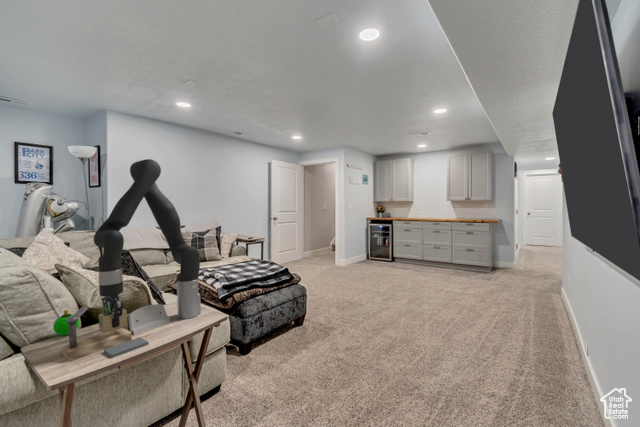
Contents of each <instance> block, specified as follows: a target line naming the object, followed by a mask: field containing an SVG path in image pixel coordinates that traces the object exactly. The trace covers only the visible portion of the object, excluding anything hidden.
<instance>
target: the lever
mask: <svg viewBox="0 0 640 427" xmlns="http://www.w3.org/2000/svg"><path fill="white" fill-rule="evenodd" d="M87 310H89V305H83V306H82V307H80V309H78V310H77V311H76V312H74V314H72V315H73V316H71V317H68V318H66V320H67V324H70V323H75V322H77V321H78V320H79V318H80V317H81V316H83V314H84V313H86V311H87Z"/></svg>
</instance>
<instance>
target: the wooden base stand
mask: <svg viewBox="0 0 640 427" xmlns="http://www.w3.org/2000/svg"><path fill="white" fill-rule="evenodd" d="M132 337H133V336H132V332H130V331H128V330H127V328H124V327H120V328H117V329H114V330H111V331H108V332H105V333H101V334H98V335H95V336H91V337H88V338H85V339H82V340H78V341H77V338H78V337H77V329H76V322H75V323H70V324H69V335H68V341H69V342H68V344H64V345H62V355H63V356H64V358H66V359H67V360H68V361H69V362H72V361H74V360H77V359H81V358H83V357H86V356H89V355H92V354H95V353H98V352H100V351H101V352H102V351H104V349H107V348H110V347H113V346H115V345H119V344H122V343H125V342H127V341H130V340H133V339H132Z"/></svg>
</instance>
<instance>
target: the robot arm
mask: <svg viewBox="0 0 640 427" xmlns="http://www.w3.org/2000/svg"><path fill="white" fill-rule="evenodd" d="M129 172H130V176H131V178H132V180H133V183H132V184H131V186H130V187H129V188H128V190H127V191H125V193H124V194H123V195H122V196H121V197H120V198H119V199H118V201H117V202H116V204H115V205H114V207H113V208H112V211H111V213H110V214H109V216H108V218H107V219H105V221H103V223H102V224H101V225H100V226H99V227H98V228H97V230H96V231H95V233H94V236H93V242H94V245H95V246H96V247H98V248H103V252H102V253H103V254H102V255H100V256H99V257H98V290H99V291H98V292H99V296H100V297H101V302H102V309H103V313H107V312H110V313H111V316H112V327H113V328H116V327H119V326H120V322H119V316H122V311H123V309H124V302H123V301H121V298H120V297H119V295H120V294H122V293H123V292H124V277H123V270H122V253H123V251H124V250H123V249H124V245H125V243H124V242H125V239H124V235H123V234H122V232H120V231H121V229H123V228H125V227H128V225H129V224H130V221H131V220H132V218H133V217H134V215H135V213H136V211H137V209H138V207H139V205H140V204H141V202H142V201H143V199H145V201H146V204H147V205H148V207H149V209H150V211H151V213H152V215H153V218H154V220H155V221H156V224H157V225H158V227H159V229H160V231H161V233H162V235H163V237H164V238H165V240H166V242H167V245H168V247H169V250H170V253H171V255H172V258H173V260H174V262H175V263H177V264H178V265H180V272H179V273H177V274H176V297H177V298H176V300H177V304H176V305H177V318H178V319H183V320H184V319H192V318H196V317H197V316H198V315H201V313H202V310H201V308H202V306H201V294H200V293H199V274H200V268H201V267H200V266H201V264H200V263H201V255H200V251H199V250H198V248H196V247H195V246H191V245H188V244H187V242H186V241H185V238H184V235H183V234H182V229H181V226H182V225H181V219H180V215H179V213H178V211H177V210H176V207H175V206H174V204H173V203H172V202H171V201H170V200H169V199H168V197H167V196H165V195H164V194H163V192H162V191H161V190H160V188H159V187H158V185H157V183H156V181H158V178H159V177H160V175H161V173H162V170H161V166H160V164H159V163H158V162H157V161H156V160H154V159H150V158H148V159H141V160H138V161H135V162H132V164H131V165H130V167H129ZM116 313H117V314H116Z"/></svg>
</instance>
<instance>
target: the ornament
mask: <svg viewBox="0 0 640 427" xmlns="http://www.w3.org/2000/svg"><path fill="white" fill-rule="evenodd" d="M73 315H74V314H71V313H69V310H68V309H66V310H63V314H62V315H61V316H60V317H58V318H57V319H56V320H55V321H54V323H53V324H52V325H53V326H52V327H53V331H54V333H56V335H59V336H69V324H67V320H66V318H68V317H71V316H73ZM79 326H80V320H79V319H78V321H77V322H76V330H77V329H78V328H79Z"/></svg>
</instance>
